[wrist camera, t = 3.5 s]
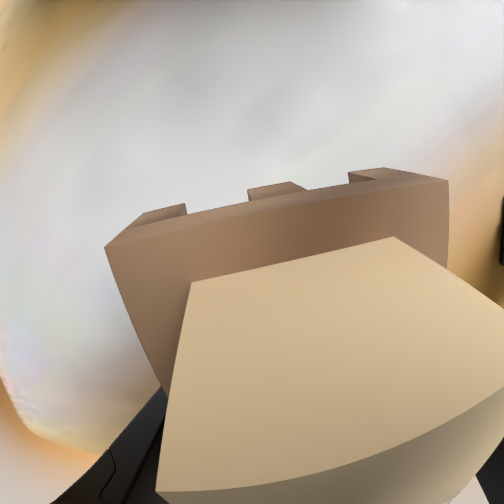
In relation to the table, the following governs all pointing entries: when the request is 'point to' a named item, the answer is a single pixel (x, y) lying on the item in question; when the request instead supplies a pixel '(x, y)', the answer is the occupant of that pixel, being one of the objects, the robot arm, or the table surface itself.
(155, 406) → the robot arm
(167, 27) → the table surface
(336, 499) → the tan carton
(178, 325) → the pallet
